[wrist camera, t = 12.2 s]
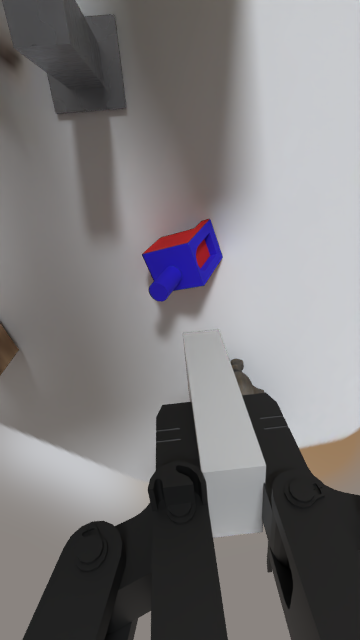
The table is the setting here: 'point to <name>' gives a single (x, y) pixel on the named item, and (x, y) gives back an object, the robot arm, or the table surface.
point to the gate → (6, 349)
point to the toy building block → (182, 260)
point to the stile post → (70, 52)
